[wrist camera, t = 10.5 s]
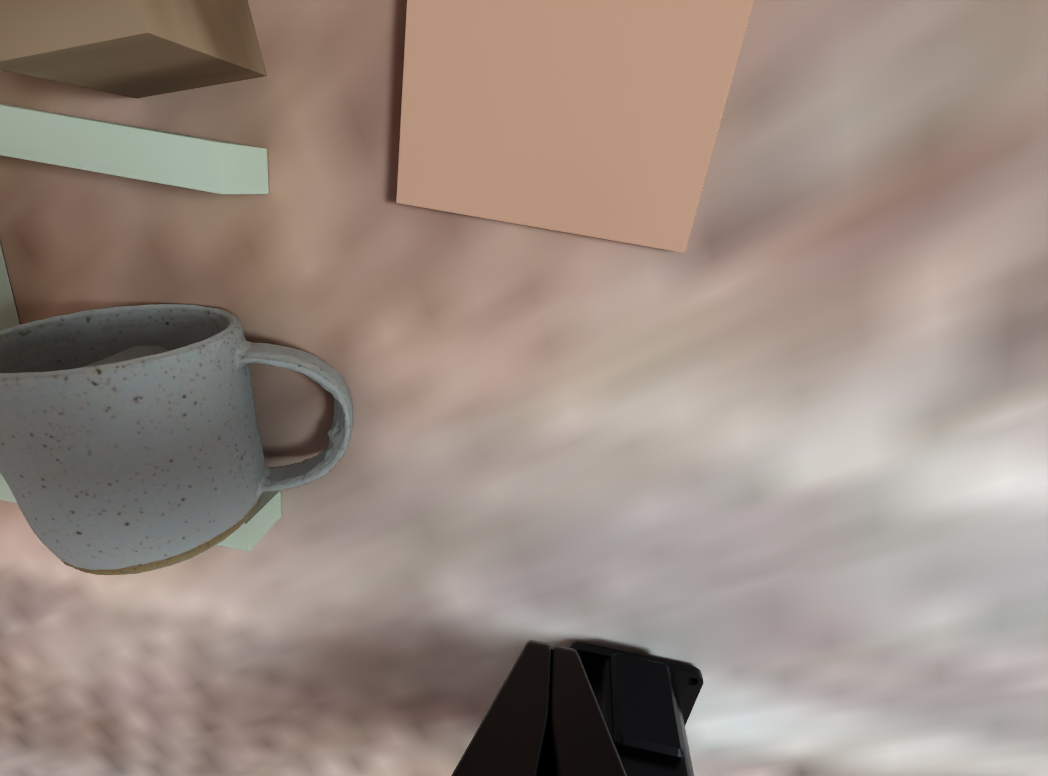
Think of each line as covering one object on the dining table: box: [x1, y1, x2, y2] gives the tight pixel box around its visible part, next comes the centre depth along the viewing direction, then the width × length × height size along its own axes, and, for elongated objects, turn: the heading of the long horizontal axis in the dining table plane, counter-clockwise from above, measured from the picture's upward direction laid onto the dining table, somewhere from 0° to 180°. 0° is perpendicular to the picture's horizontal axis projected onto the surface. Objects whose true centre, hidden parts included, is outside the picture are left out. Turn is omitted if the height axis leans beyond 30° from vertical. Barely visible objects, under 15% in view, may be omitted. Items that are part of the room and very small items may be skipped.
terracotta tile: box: [396, 0, 754, 253], centre depth 15 cm, size 10×10×1 cm
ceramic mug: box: [0, 304, 353, 575], centre depth 18 cm, size 11×8×8 cm
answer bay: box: [0, 103, 282, 552], centre depth 20 cm, size 16×13×2 cm
